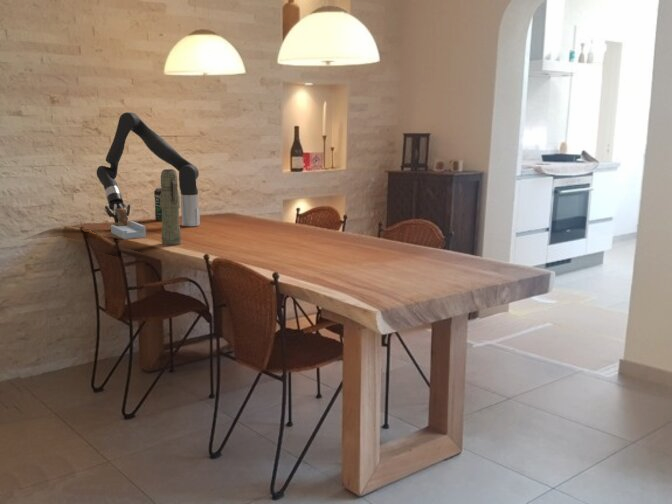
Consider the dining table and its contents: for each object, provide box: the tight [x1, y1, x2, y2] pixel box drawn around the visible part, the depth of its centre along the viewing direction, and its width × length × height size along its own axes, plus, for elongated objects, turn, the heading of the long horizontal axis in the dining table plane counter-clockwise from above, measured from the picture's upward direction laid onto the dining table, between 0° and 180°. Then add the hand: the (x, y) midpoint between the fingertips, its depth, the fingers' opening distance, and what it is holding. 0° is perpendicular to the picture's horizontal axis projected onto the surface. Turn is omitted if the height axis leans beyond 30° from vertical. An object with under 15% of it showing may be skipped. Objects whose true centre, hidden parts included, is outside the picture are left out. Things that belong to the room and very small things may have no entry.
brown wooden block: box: [114, 208, 128, 227], centre depth 358 cm, size 4×8×11 cm, turn 34°
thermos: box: [160, 168, 182, 247], centre depth 317 cm, size 9×12×35 cm
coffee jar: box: [154, 187, 162, 222], centre depth 391 cm, size 10×8×19 cm
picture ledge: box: [110, 220, 147, 240], centre depth 343 cm, size 11×22×6 cm, turn 34°
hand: (121, 221), depth 356 cm, fingers closed on brown wooden block, 4 cm apart
